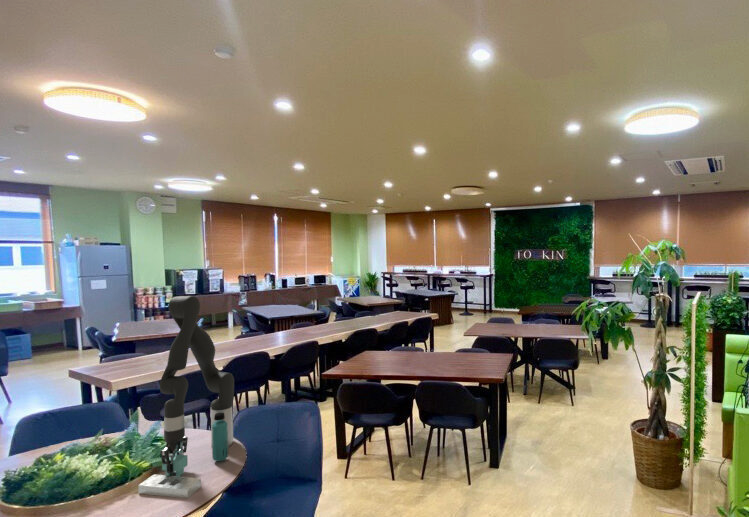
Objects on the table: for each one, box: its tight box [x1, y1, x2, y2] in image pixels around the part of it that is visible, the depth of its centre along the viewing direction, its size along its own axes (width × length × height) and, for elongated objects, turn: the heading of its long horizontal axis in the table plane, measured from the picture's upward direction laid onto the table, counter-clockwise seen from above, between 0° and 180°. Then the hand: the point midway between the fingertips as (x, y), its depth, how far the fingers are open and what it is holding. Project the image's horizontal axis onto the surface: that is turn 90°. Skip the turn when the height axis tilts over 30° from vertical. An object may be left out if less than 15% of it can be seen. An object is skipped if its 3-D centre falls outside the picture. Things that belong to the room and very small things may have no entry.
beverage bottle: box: [211, 413, 229, 462], centre depth 179 cm, size 6×7×20 cm
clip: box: [161, 453, 189, 477], centre depth 168 cm, size 8×5×6 cm
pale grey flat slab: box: [137, 474, 202, 499], centre depth 156 cm, size 8×20×3 cm, turn 79°
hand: (174, 469), depth 168 cm, fingers closed on clip, 5 cm apart
